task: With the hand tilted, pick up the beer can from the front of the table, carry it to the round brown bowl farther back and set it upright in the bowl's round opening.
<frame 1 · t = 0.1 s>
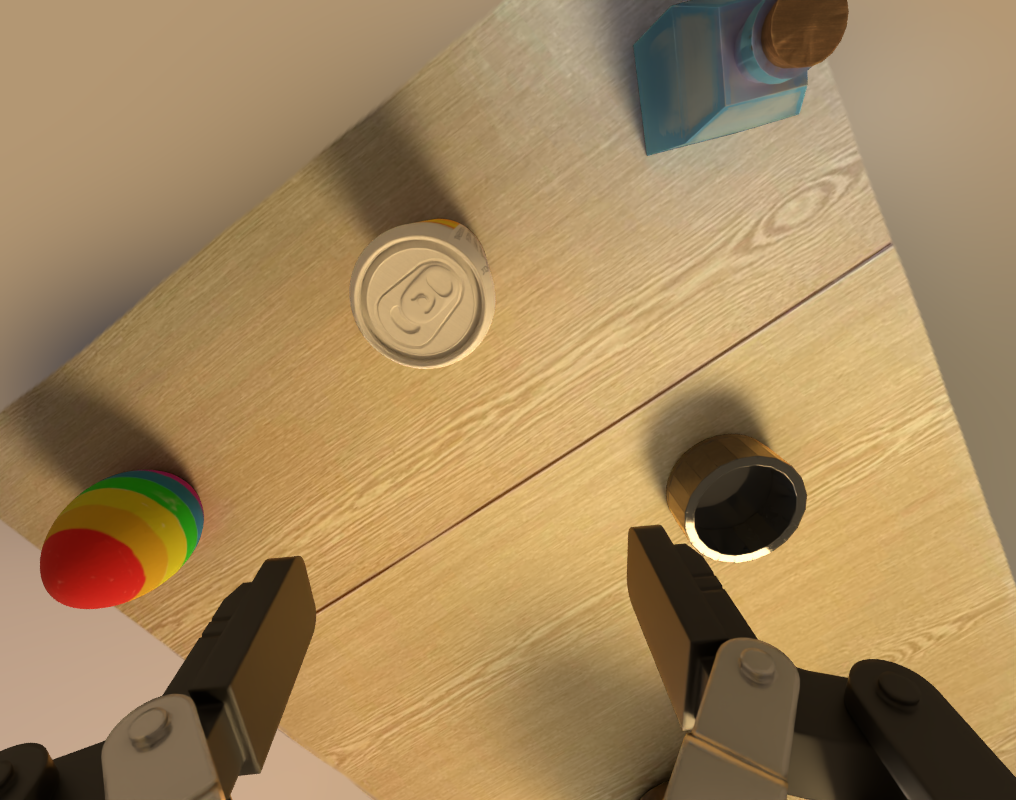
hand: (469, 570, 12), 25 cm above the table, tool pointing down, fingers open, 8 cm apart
striped foam ball: (165, 500, 39), on the table
round brown bowl: (721, 485, 42), on the table
beer can: (442, 265, 34), on the table
perfume bottle: (687, 90, 31), on the table
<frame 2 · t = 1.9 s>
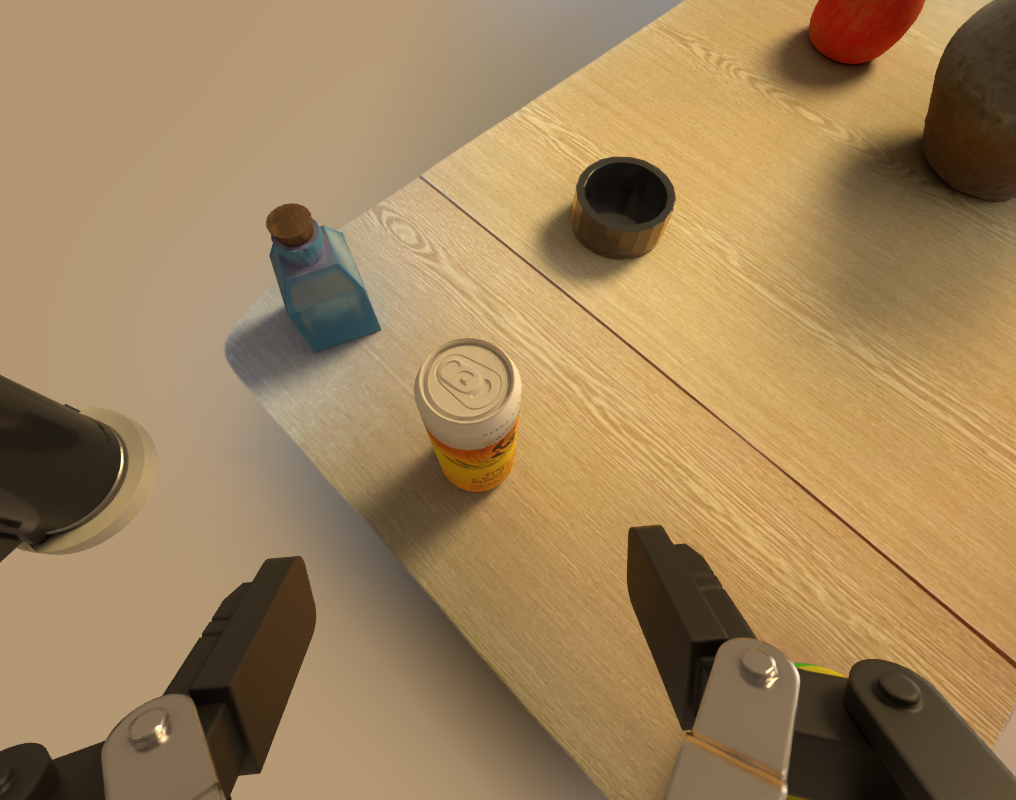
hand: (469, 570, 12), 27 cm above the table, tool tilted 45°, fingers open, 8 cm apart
striped foam ball: (781, 725, 34), on the table
apple: (841, 47, 64), on the table
round brown bowl: (616, 222, 51), on the table
beer can: (477, 458, 41), on the table
pitcher: (977, 168, 56), on the table
perfume bottle: (339, 315, 47), on the table
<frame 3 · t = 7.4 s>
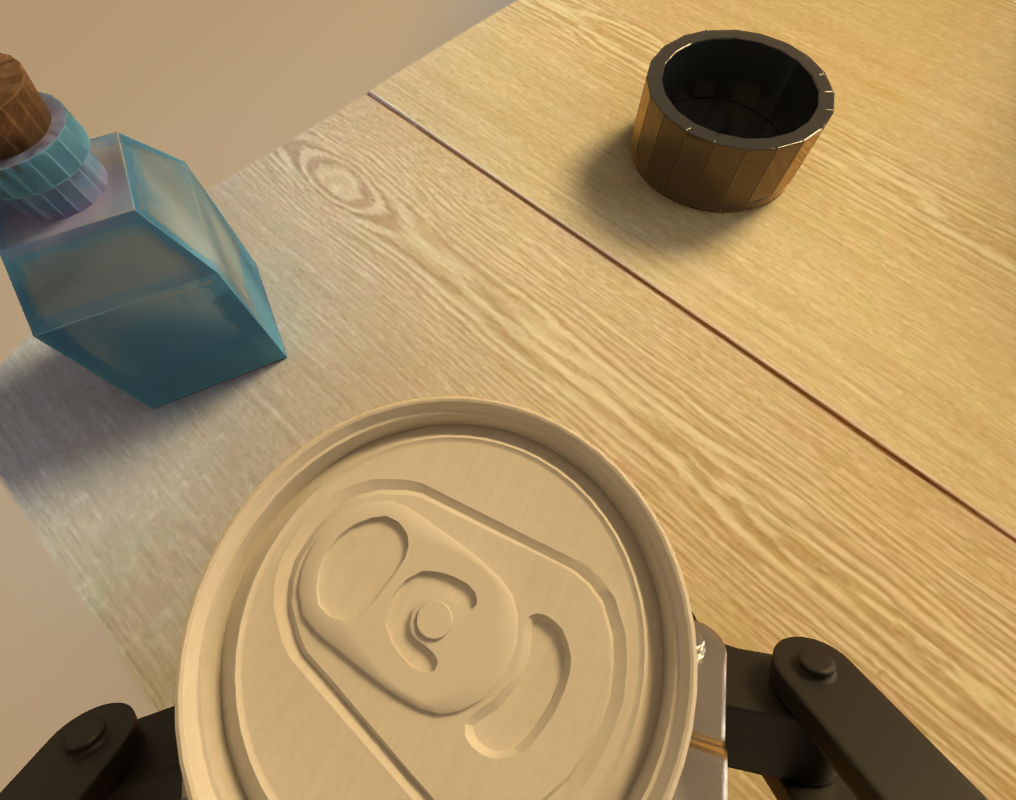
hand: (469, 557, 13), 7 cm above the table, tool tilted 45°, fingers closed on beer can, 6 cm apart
round brown bowl: (711, 152, 29), on the table
beer can: (482, 631, 19), on the table, touching gripper
perfume bottle: (209, 332, 24), on the table
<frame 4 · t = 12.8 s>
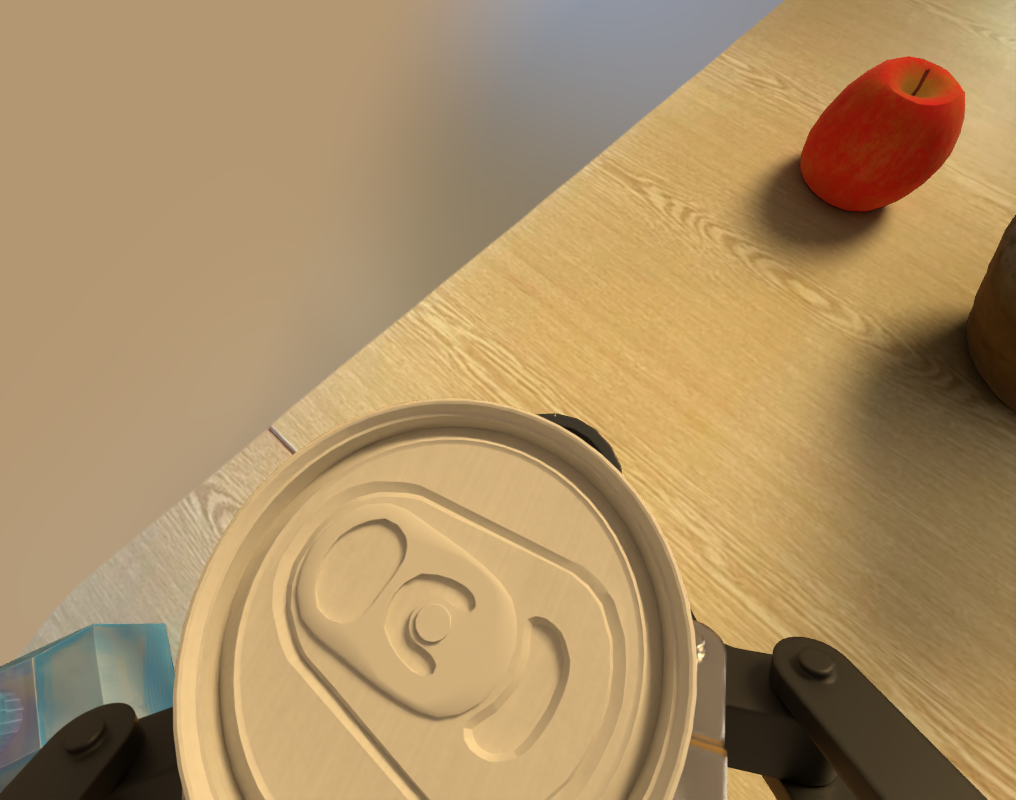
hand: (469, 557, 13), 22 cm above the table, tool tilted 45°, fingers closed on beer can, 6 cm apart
apple: (844, 183, 49), on the table
round brown bowl: (545, 495, 36), on the table
beer can: (482, 632, 19), point 15 cm above the table, touching gripper
perfume bottle: (125, 697, 31), on the table
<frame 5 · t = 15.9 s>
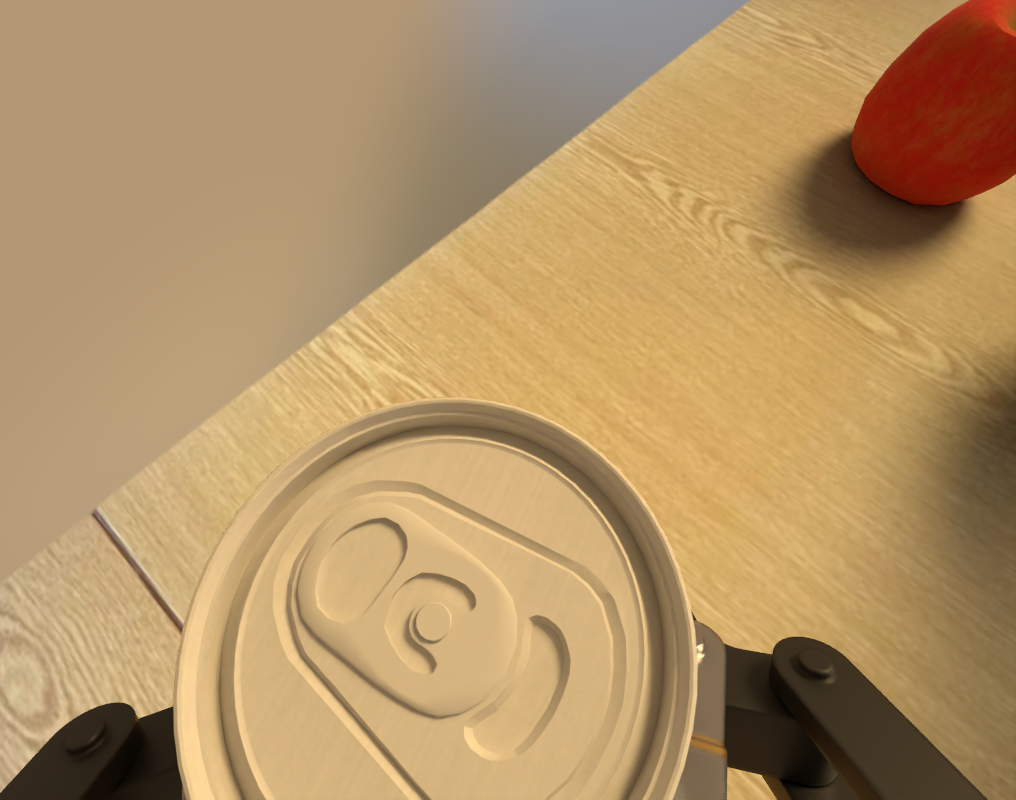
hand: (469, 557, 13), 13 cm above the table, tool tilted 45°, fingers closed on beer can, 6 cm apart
apple: (908, 168, 37), on the table
beer can: (482, 632, 19), point 5 cm above the table, touching gripper
when the fingers open (8 cm above the table, at t = 18.2 s): beer can stays where it is, resting on round brown bowl.
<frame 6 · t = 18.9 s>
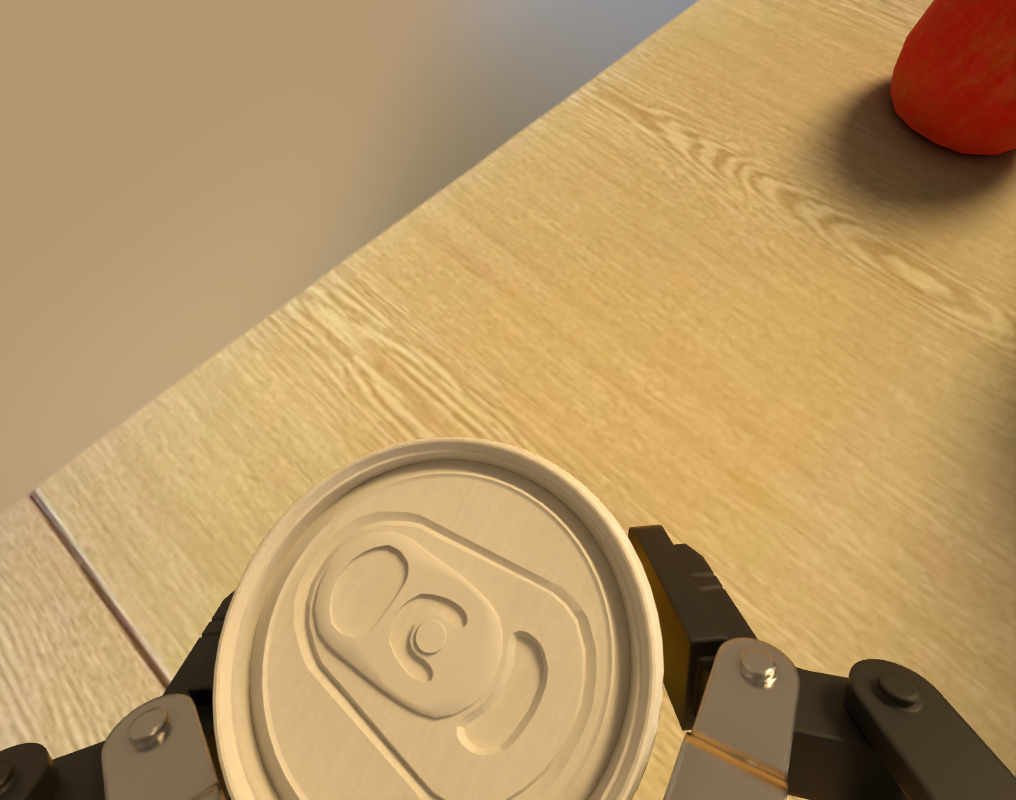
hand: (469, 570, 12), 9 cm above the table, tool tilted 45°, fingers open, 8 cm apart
apple: (953, 118, 33), on the table
beer can: (486, 629, 20), resting on round brown bowl
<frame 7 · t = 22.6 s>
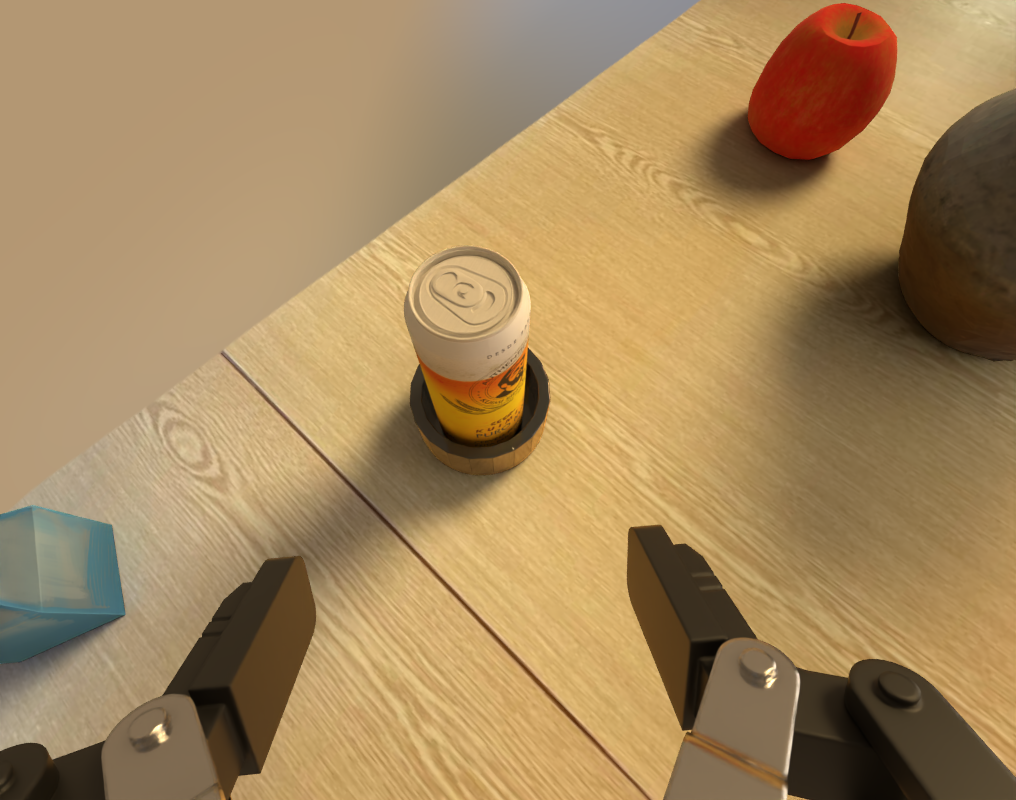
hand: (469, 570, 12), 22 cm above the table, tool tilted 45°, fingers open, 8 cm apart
apple: (791, 135, 50), on the table
round brown bowl: (482, 414, 37), on the table
beer can: (481, 416, 37), resting on round brown bowl
pitcher: (972, 305, 42), on the table
perfume bottle: (70, 590, 32), on the table
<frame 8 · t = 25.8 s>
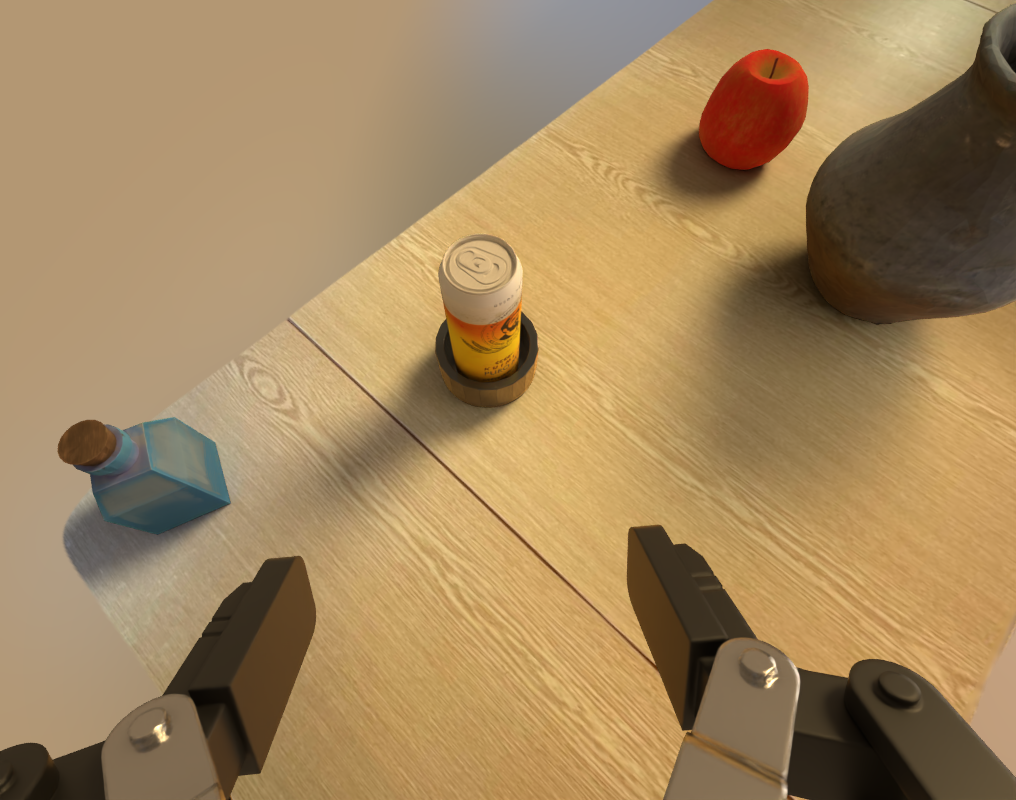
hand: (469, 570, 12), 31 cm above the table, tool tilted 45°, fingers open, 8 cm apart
apple: (734, 149, 62), on the table
round brown bowl: (488, 364, 49), on the table
beer can: (487, 365, 49), resting on round brown bowl
pitcher: (866, 283, 54), on the table
perfume bottle: (188, 487, 44), on the table
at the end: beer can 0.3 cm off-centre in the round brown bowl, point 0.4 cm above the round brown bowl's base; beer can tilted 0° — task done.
